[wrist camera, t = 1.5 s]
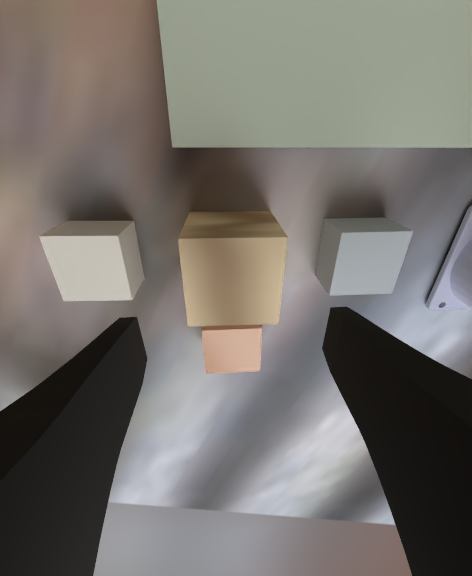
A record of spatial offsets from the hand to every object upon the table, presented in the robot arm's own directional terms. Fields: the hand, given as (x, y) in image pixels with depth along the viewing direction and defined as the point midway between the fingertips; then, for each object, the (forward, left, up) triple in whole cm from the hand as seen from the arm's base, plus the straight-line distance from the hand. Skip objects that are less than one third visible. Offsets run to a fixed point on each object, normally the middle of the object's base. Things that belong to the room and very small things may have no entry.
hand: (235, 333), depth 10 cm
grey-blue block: (-8, 0, -9) cm, 12 cm away
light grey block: (+8, 0, -9) cm, 12 cm away
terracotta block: (0, +7, -9) cm, 11 cm away
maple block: (0, 0, -9) cm, 9 cm away
